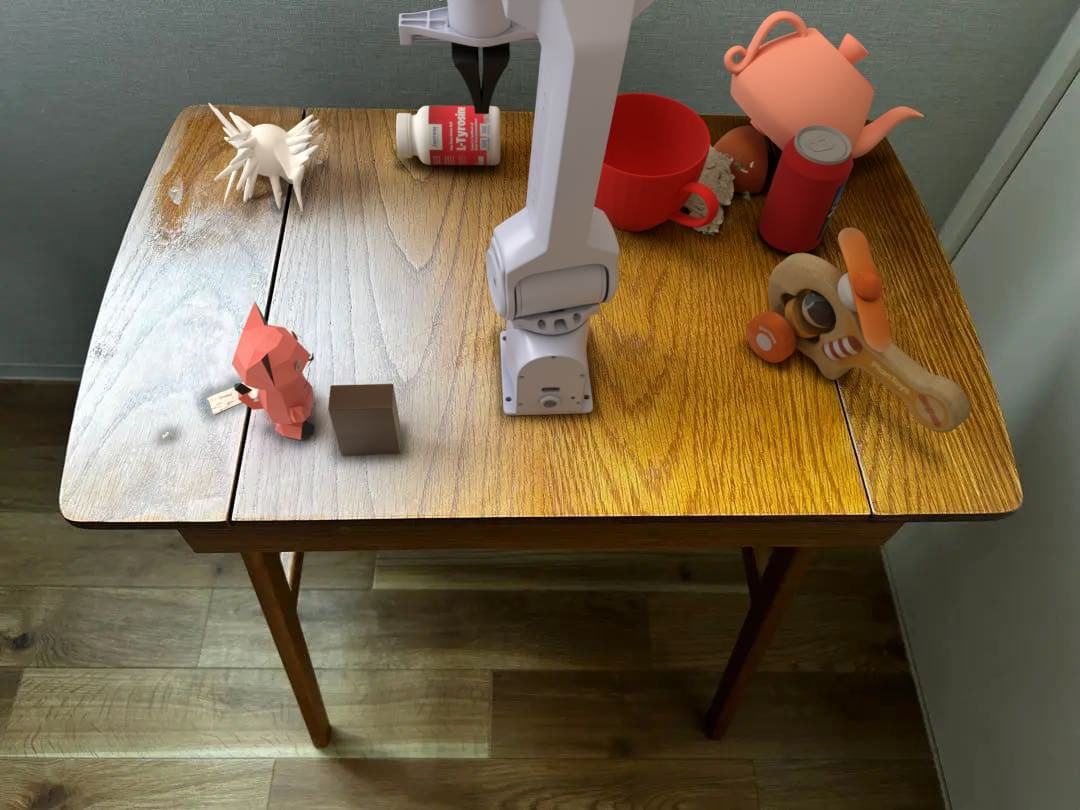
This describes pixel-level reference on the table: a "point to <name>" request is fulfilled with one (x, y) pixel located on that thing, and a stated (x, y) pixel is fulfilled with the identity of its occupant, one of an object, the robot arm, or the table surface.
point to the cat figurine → (275, 375)
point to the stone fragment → (715, 189)
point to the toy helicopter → (849, 330)
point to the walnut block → (365, 419)
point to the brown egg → (745, 157)
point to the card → (226, 400)
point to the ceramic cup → (653, 163)
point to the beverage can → (806, 188)
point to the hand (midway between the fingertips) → (481, 107)
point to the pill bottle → (450, 135)
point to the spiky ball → (269, 154)
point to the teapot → (807, 86)
